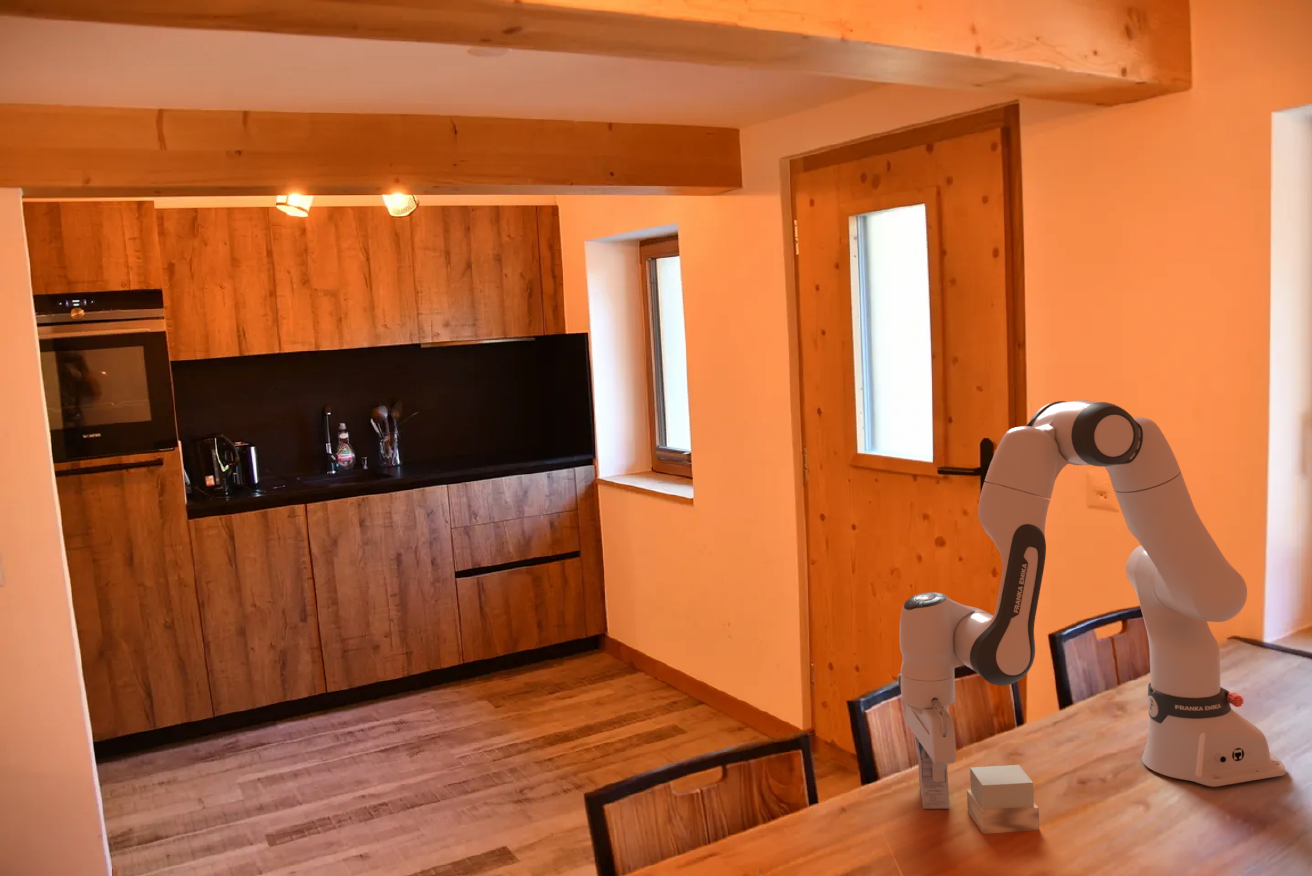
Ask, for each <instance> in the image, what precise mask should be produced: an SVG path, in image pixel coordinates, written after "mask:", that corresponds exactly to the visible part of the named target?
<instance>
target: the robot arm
mask: <svg viewBox="0 0 1312 876" xmlns="http://www.w3.org/2000/svg"><path fill="white" fill-rule="evenodd" d="M1067 465H1073V466H1093V467H1102V468H1103V467H1104V468H1105V470H1106V472H1107V473H1108V476H1109V480H1110V482H1111V485H1112V489H1113V491H1114V494H1115V496H1116V500H1117V502H1118V505H1119V507H1120V510H1121V512H1122V515H1123V517H1124V521H1125V524H1126V526H1127V529H1128V531H1129V532H1130V533H1131V534H1132V536H1133V537H1134V538H1135V539H1136V540H1137V541H1138V543H1139V544H1140V545H1139V546H1137V547H1135V548H1134V549H1133V550H1132V552H1131V553H1130V554H1129V556H1128V558H1127V560H1126V565H1125V566H1126V567H1125V570H1126V571H1125V573H1126V576H1127V579H1128V581H1129V582H1130V584H1131V586H1132V588H1133V590H1134V592H1135V594H1136V596H1137V600H1138V604H1139V607H1140V610H1141V613H1142V617H1143V621H1144V626H1145V629H1146V634H1147V638H1148V647H1149V669H1150V672H1149V674H1150V676H1149V677H1150V682H1149V683H1148V685H1147V708H1148V709H1147V710H1148V711H1147V712H1148V716H1149V725H1148V730H1147V731H1148V732H1147V739H1146V743H1145V747H1144V751H1143V754H1142V757H1141V761H1142V763H1143V765H1145V766H1146V767H1147V768H1148V769H1150V770H1152V771H1153V772H1155V773H1158V774H1160V775H1164V776H1165V777H1169V778H1174V779H1177V780H1185V781H1191V782H1195V783H1197V784H1201V785H1203V786H1207V787H1214V788H1215V787H1221V786H1222V787H1223V786H1227V785H1234V784H1239V783H1245V782H1251V781H1252V782H1253V781H1256V780H1258V781H1259V780H1263V779H1269V778H1275V777H1280V776H1284V775H1286V768H1285V765H1284V763H1283V761H1282V760H1281V759H1279V758H1278V757H1277V756H1276V755H1275V754H1273V753H1272V752H1270V748H1269V747H1270V746H1269V744H1268V740H1267V739H1266V735H1265V734H1264V732H1263V731H1262V730H1261V729H1259V728H1258V727H1257V726H1256V725H1255V724H1253V723H1252V722H1250V721H1249V719H1247V718H1245V717H1243V715H1241V714H1239V713H1238V711H1235V710H1234V709H1233V708H1232V707H1231V705H1233V706H1234V707H1236V708H1240V707H1242V706H1243V704H1244V702H1245V699H1244V698H1243V697H1242V696H1241V695H1240V694H1238V693H1236V692H1230V691H1229V690H1227V689H1226V688H1224V687H1221V650H1220V646H1219V643H1218V640H1217V638H1216V637H1215V636H1214V634H1213V632H1212V630H1211V628H1210V626H1209V623H1208V622H1210V623H1212V622H1213V623H1223V622H1227V621H1230V620H1232V619H1233V618H1235V617H1236V616H1237V615H1239V614H1240V612H1241V611H1242V610H1243V609H1244V607H1245V605H1246V601H1247V598H1248V588H1247V584H1246V581H1245V580H1244V578H1243V576H1242V575H1241V573H1239V572H1238V571H1237V570H1236V569H1235V568H1234V566H1233V565H1231V563H1230V562H1229V561H1228V560H1227V558H1226V557H1225V555H1224V554H1223V553H1222V551H1221V550H1220V548H1219V546H1218V545H1217V543H1216V542H1215V540H1214V539H1213V537H1212V535H1211V534H1210V533H1209V531H1208V529H1207V528H1206V526H1205V525H1204V523H1203V521H1202V520H1201V518H1200V516H1199V514H1198V512H1197V510H1196V508H1195V506H1194V503H1193V501H1192V498H1191V495H1190V493H1189V490H1188V487H1187V484H1186V482H1185V479H1184V476H1183V473H1182V471H1181V468H1180V464H1179V463H1178V460H1177V458H1176V456H1175V454H1174V451H1173V449H1172V448H1171V445H1170V443H1169V442H1168V440H1167V438H1166V437H1165V434H1164V433H1163V432H1162V430H1161V429H1160V427H1159V426H1158V424H1157V423H1156V422H1155V421H1153V420H1151V419H1149V418H1147V417H1140V416H1136V417H1135V416H1132V415H1131V414H1130V413H1129V412H1128V411H1126V410H1125V409H1124V408H1122V407H1121V406H1118V405H1116V404H1113V403H1111V402H1106V401H1104V402H1103V401H1100V402H1099V401H1095V400H1088V399H1077V400H1071V401H1065V400H1064V401H1063V400H1061V401H1060V400H1058V401H1054V402H1051V403H1047V404H1046V405H1044V406H1042V407H1041V408H1039V409H1038V410H1037V411H1036V412H1035V413H1034V414H1033V416H1031V419H1030V420H1029V422H1027V424H1026V425H1022V426H1017V427H1013V428H1010V429H1009V430H1007V431H1006V432H1005V434H1004V435H1003V436H1002V438H1001V440H1000V442H999V443H998V445H997V447H996V450H995V452H994V454H993V456H992V459H991V461H990V463H989V466H988V470H987V471H986V472H987V473H986V475H985V479H984V482H983V485H982V488H981V491H980V496H979V500H978V511H977V515H978V516H977V517H978V520H979V523H980V525H981V527H982V529H983V530H984V532H985V533H986V535H987V536H988V537H989V538H990V539H991V540H992V542H993V543H994V545H995V547H996V549H997V551H998V552H999V555H1000V558H1001V559H1000V560H1001V564H1002V571H1001V572H1002V573H1001V578H1000V582H999V589H998V595H997V598H996V599H997V600H996V605H995V611H994V614H992V613H989V612H987V611H985V610H983V609H981V608H978V607H974V606H969V605H965V604H962V603H960V602H957V601H955V600H953V599H951V598H950V597H948V596H947V595H946V594H945V593H943V592H942V593H941V592H935V591H934V592H922V593H919V594H915V595H913V596H911V597H910V598H908V599H907V600H905V602H904V604H903V605H902V608H901V612H900V618H899V619H900V620H899V649H900V652H901V655H902V662H901V667H900V672H899V673H898V675H897V684H898V686H899V687H900V694H901V697H900V698H901V701H902V708H903V714H904V720H905V722H906V724H907V725H908V726H909V729H910V730H911V731H912V732H913V738H914V742H915V743H914V744H915V746H916V747H915V749H916V750H915V751H916V756H918V743H921V745H922V746H923V747H924V749H925V750H926V752H927V753H928V755H929V756H930V758H931V759H932V762H933V766H932V768H931V777H932V778H933V780H934V781H935V782H943V781H944V771H945V768H946V764H947V765H949V764H954V763H955V761H956V759H957V750H956V747H957V746H956V736H955V735H956V734H955V725H954V722H953V721H954V720H953V718H952V716H951V715H950V713H949V712H948V708H949V707H948V706H950V705H952V704H954V703H955V702H956V689H955V687H956V686H955V685H956V682H955V668H956V667H957V666H961V665H964V666H966V667H967V668H970V669H971V670H972V671H974V672H975V673H976V674H978V675H979V677H981V678H983V679H984V680H985V681H987V682H988V683H990V684H991V685H994V686H999V687H1002V686H1003V687H1004V686H1009V685H1012V684H1016V683H1017V682H1018V681H1020V680H1021V679H1023V678H1024V677H1025V676H1026V674H1028V672H1029V671H1030V670H1031V668H1032V666H1033V664H1034V660H1035V657H1036V644H1035V643H1036V641H1035V623H1036V621H1035V620H1036V615H1037V609H1038V603H1039V599H1040V593H1041V588H1042V581H1043V575H1044V569H1045V564H1046V555H1047V545H1046V544H1047V542H1046V537H1045V535H1046V534H1045V533H1046V532H1045V531H1046V521H1047V515H1048V510H1049V505H1050V502H1051V498H1052V496H1053V490H1054V487H1055V483H1056V480H1057V478H1058V476H1059V474H1060V473H1061V472H1062V470H1063V469H1064V468H1065V467H1066V466H1067Z"/></svg>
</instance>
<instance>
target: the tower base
mask: <svg viewBox="0 0 1312 876" xmlns="http://www.w3.org/2000/svg"><path fill="white" fill-rule="evenodd" d="M966 799H967V802H966V803H967V805H966V806H967V812H968V814H969V815H970V817H971V818H972V820H973V821H974V823H975V824H976V826H977V828H978V829H979V830H980V832H981V834H984V835H985V834H996V833H997V834H998V833H999V834H1000V833H1014V832H1027V831H1028V832H1029V831H1031V832H1033V831H1040V809H1039V806H1038V805H1037V804H1036V803H1035V802H1034V807H1022V808H1004V809H985V810H983V808H982V807H981V805H980V804H979V802H978V801H977V799H976V798H975V796H974V795H973V793H972V792H971V789H966Z"/></svg>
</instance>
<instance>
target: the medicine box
mask: <svg viewBox="0 0 1312 876" xmlns="http://www.w3.org/2000/svg"><path fill="white" fill-rule="evenodd" d="M917 759H918V760H917V762H918V781H919V792H920V796H921V797H920V798H921V803H922V808H923V809H925V810H949V809H950V798H949V797H950V796H949V793H950V791H949V774H948V773H949V772H948V764H946V768H945V771H944V781H943V782H935V781H934V780H933V778H932V777H931V768H932V766H933V762H932V759H931V758H930V756H929V755H928V753H927V752H926V750H925V749H924V747H923V746H922V745H921V743H918V755H917Z"/></svg>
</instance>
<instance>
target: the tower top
mask: <svg viewBox="0 0 1312 876" xmlns="http://www.w3.org/2000/svg"><path fill="white" fill-rule="evenodd" d="M969 775H970V776H969V779H970V790H971V792H972V793H973V795H974V796H975V798H976V799H977V801H978V802H979V804H980V805H981V807H982V808H983V810H985V809H1004V808H1022V807H1034V803H1035V802H1034V799H1035V797H1034V782H1033V781H1032V779H1031V778H1030V777H1029V776H1028V774H1027V772H1025V770H1024V769H1023V768H1022V767H1021V766H1020V764H1012V765H1011V764H1008V765H991V766H990V765H989V766H988V765H987V766H975V767H974V766H973V767H972V766H970V767H969Z"/></svg>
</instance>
